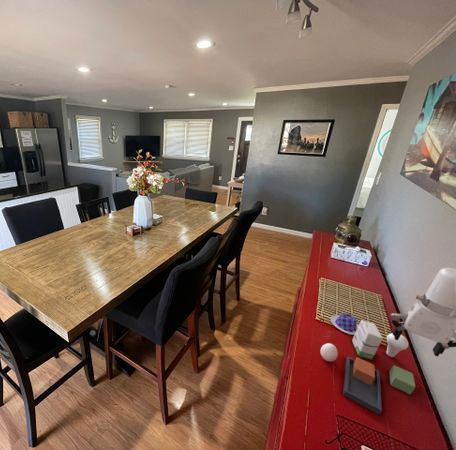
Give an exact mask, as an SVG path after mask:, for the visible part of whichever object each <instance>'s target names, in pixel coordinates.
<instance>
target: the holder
mask: <svg viewBox="0 0 456 450" xmlns="http://www.w3.org/2000/svg"><path fill="white" fill-rule="evenodd" d="M355 360H356V358H355V359H354V358H352V357H350V356H346V359H345V366H344V378H343V379H344V380H343V391H342V395H343V396H344V397H346V398H348V399H349V400H352V401H353V402H355V403H357V404H359V405H361V406H363V407H364V408H366V409H368V410H370V411H371V412H373V413H376V414H377V415H381V413H382V411H383V408H382V390H381V375H380V373H381V372H380V370H379V369H377V368H374V369H375V379H374V380H373V382H372V384H371V385H369V384H367V383H365V382H363V381H361V380H359V379H357V378H355V377H353V364H354V362H355Z"/></svg>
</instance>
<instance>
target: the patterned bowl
mask: <svg viewBox="0 0 456 450" xmlns="http://www.w3.org/2000/svg"><path fill="white" fill-rule="evenodd" d="M330 322H331V324H332V325H333V327H335V328H337V329H338V330H340V331H341V332H344V333H346V334H348V335H353V336H354V335H355V333H356V331H357V329H358V326H359V324H358V321H357V318H356V317H355V316H354V315H352V314H349V313H348V312H342V313H341V314H334V315H332V316H330Z"/></svg>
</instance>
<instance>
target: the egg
mask: <svg viewBox="0 0 456 450" xmlns="http://www.w3.org/2000/svg"><path fill="white" fill-rule="evenodd" d="M319 351H320V352H319V353H320V355H321V358H322V359H323V360H324V361H326V362H334V361H335V360H337V357H338V354H339V352H338V349H337V347H336V345H334V344H333V343H330V342H328V343H324V344H323V345H322V346H321V347H320V349H319Z"/></svg>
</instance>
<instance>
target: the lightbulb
mask: <svg viewBox="0 0 456 450" xmlns="http://www.w3.org/2000/svg"><path fill="white" fill-rule="evenodd" d="M386 342H387V347H386V351H385V354H386V355H387V356H388V357H390V358H395V356H396V355H397V354H399V352H401V351H404V350H406V349H408V348H409V345H410V344H409V341H408V339H407V338H406V337H405V335H403V334H401V336H400V337H399V339H398V340H395V338H394V335H393V332H391V333H389V334H388V335H387V336H386Z"/></svg>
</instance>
